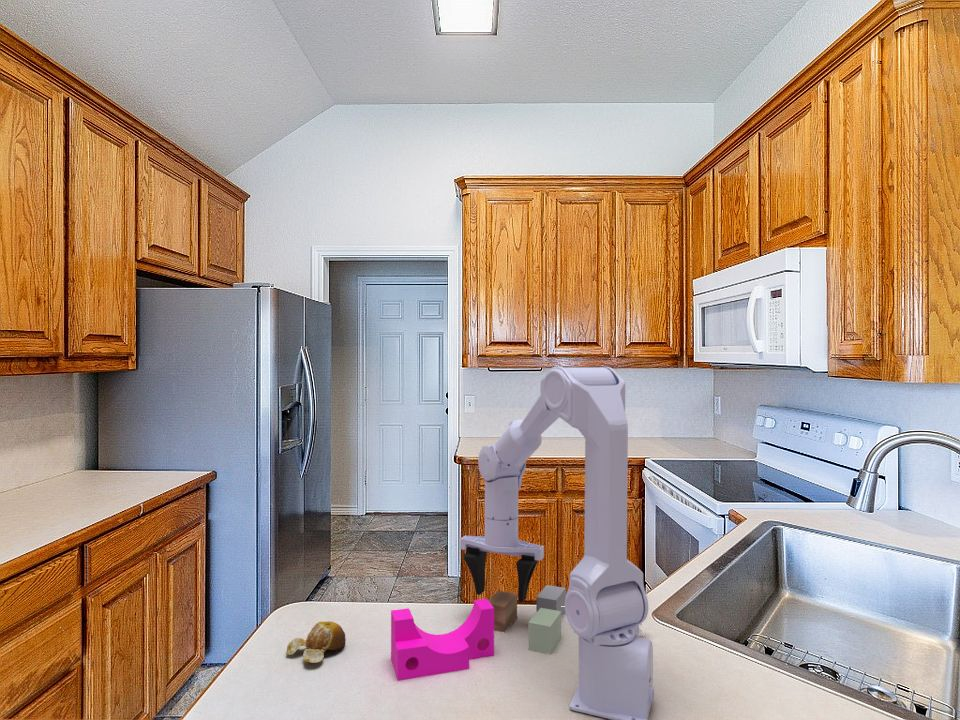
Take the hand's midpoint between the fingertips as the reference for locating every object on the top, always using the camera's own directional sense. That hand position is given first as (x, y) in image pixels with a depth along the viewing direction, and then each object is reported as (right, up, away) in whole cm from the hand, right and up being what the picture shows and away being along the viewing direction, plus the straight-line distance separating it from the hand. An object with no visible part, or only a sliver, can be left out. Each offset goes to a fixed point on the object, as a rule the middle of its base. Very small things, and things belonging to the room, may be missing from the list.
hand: (501, 596), depth 100 cm
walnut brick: (0, -5, 0) cm, 5 cm away
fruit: (-30, -6, -13) cm, 33 cm away
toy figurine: (+21, -5, -5) cm, 22 cm away
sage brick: (+7, -5, -7) cm, 11 cm away
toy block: (-9, -5, -13) cm, 16 cm away
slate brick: (+9, -5, +3) cm, 10 cm away
